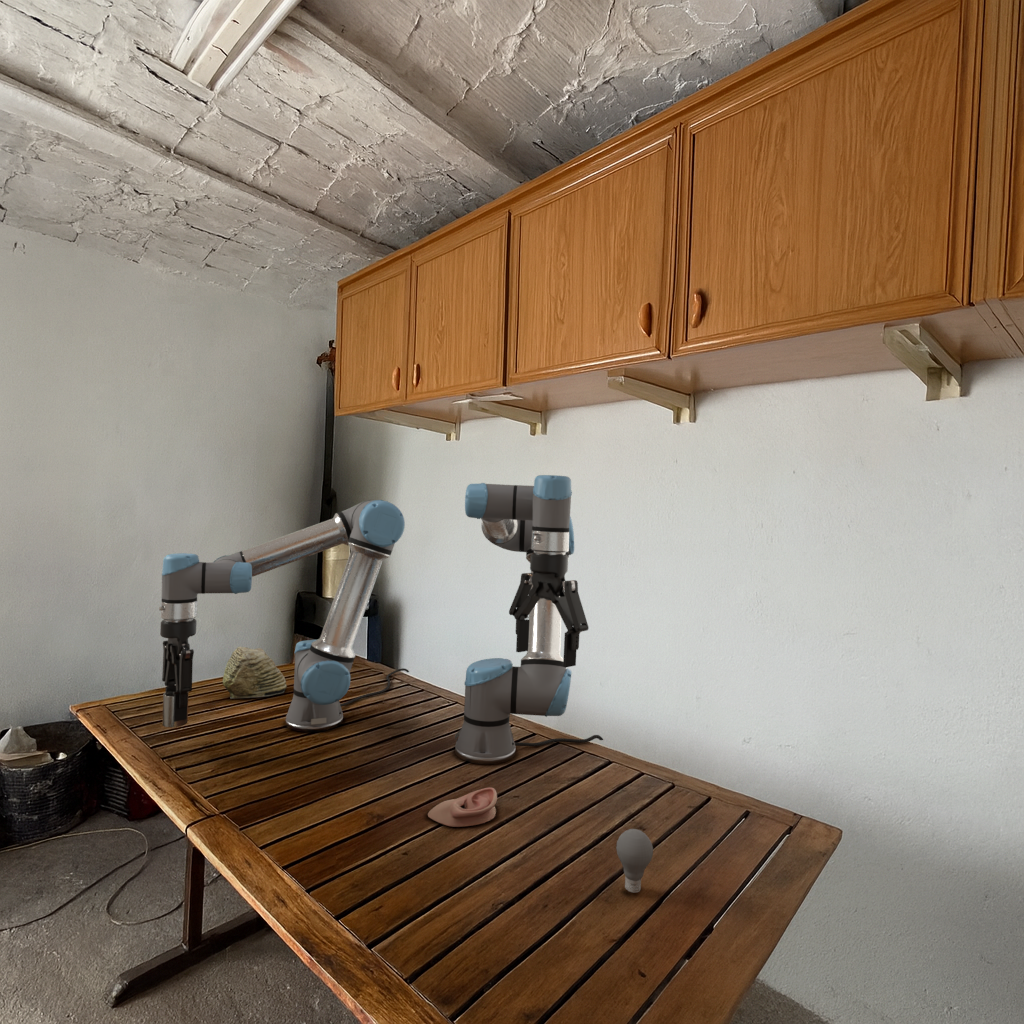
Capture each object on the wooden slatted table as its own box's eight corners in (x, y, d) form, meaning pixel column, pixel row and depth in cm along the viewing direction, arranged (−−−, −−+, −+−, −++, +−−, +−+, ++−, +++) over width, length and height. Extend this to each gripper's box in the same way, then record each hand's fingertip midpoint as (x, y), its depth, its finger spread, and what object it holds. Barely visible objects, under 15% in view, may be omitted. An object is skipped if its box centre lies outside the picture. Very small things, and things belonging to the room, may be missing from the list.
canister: (192, 721, 152) (193, 691, 152) (174, 728, 147) (175, 697, 147) (175, 718, 153) (176, 688, 153) (157, 725, 148) (157, 694, 148)
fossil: (218, 695, 195) (220, 647, 195) (278, 685, 208) (279, 640, 207) (228, 703, 189) (230, 653, 188) (289, 692, 201) (290, 645, 201)
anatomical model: (423, 802, 125) (441, 778, 136) (422, 822, 125) (440, 796, 136) (488, 812, 122) (501, 786, 133) (487, 832, 122) (500, 805, 133)
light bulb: (610, 879, 108) (613, 822, 108) (644, 879, 109) (647, 822, 109) (619, 902, 102) (622, 840, 102) (655, 901, 103) (658, 840, 103)
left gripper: (148, 614, 153) (145, 709, 154) (175, 627, 141) (171, 731, 141) (182, 611, 159) (179, 703, 159) (210, 623, 146) (206, 723, 147)
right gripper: (495, 547, 133) (491, 647, 134) (583, 559, 115) (577, 676, 115) (521, 547, 138) (517, 643, 139) (610, 558, 119) (604, 670, 120)
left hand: (175, 716), depth 150 cm, fingers closed on canister, 5 cm apart
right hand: (544, 658), depth 127 cm, fingers open, 13 cm apart
